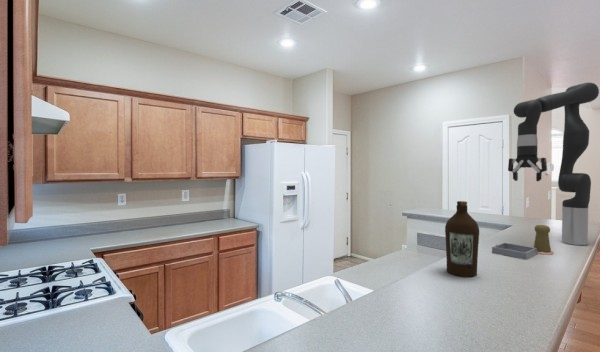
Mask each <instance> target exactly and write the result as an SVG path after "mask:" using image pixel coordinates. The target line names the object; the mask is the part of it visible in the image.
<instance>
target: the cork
mask: <svg viewBox="0 0 600 352" xmlns="http://www.w3.org/2000/svg"><path fill="white" fill-rule="evenodd" d="M534 231H535V238H534V243H533V248H537V252H544V253H550V252H551V251H552V249H551V244H550V237H549V234H550V232H551V228H550V226H549V225H546V224H537V225H535V226H534Z"/></svg>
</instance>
